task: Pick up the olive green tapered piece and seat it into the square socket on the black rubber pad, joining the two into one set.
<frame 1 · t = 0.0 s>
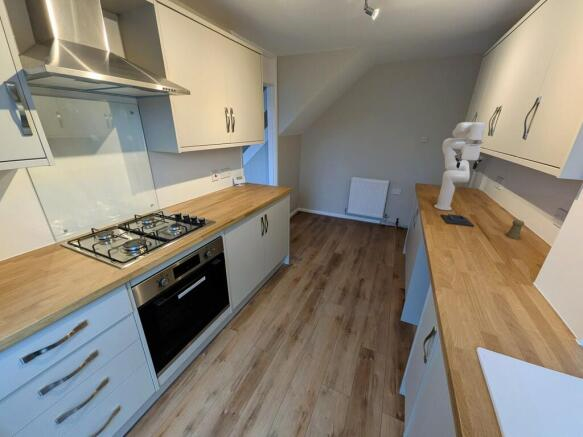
hand: (465, 168, 163), 37 cm above the counter, tool pointing down, fingers open, 9 cm apart
olive green tapered piece: (512, 237, 148), on the counter
pad: (456, 220, 171), on the counter
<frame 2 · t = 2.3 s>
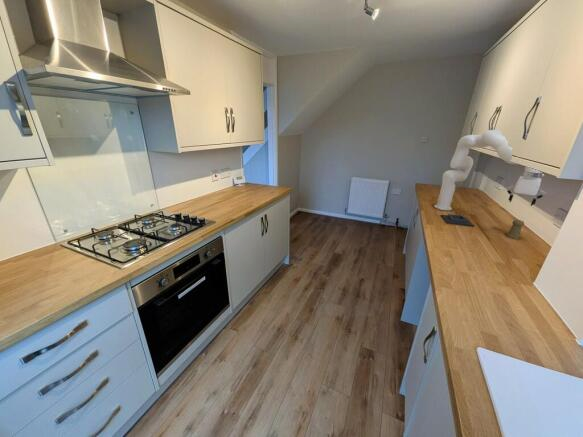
hand: (520, 203, 142), 21 cm above the counter, tool pointing down, fingers open, 9 cm apart
nothing on the counter moved.
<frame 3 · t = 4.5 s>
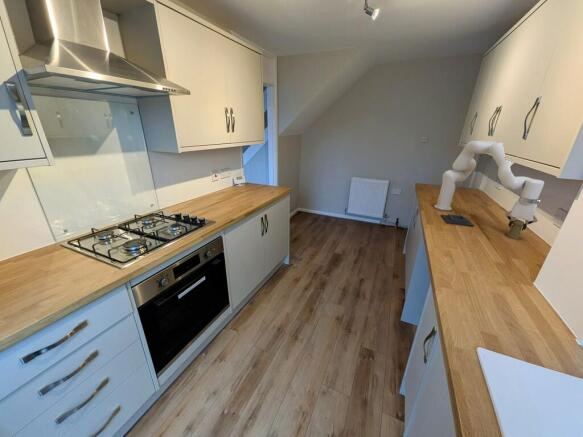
hand: (516, 228, 146), 6 cm above the counter, tool pointing down, fingers closed on olive green tapered piece, 5 cm apart
olive green tapered piece: (512, 237, 148), on the counter, touching gripper
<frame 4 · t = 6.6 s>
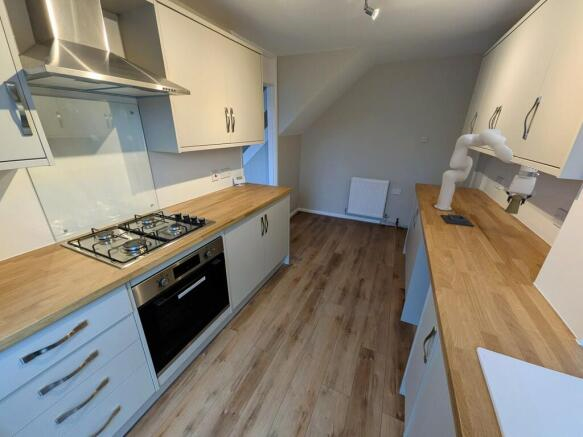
hand: (514, 203, 144), 21 cm above the counter, tool pointing down, fingers closed on olive green tapered piece, 5 cm apart
olive green tapered piece: (511, 212, 147), point 15 cm above the counter, touching gripper
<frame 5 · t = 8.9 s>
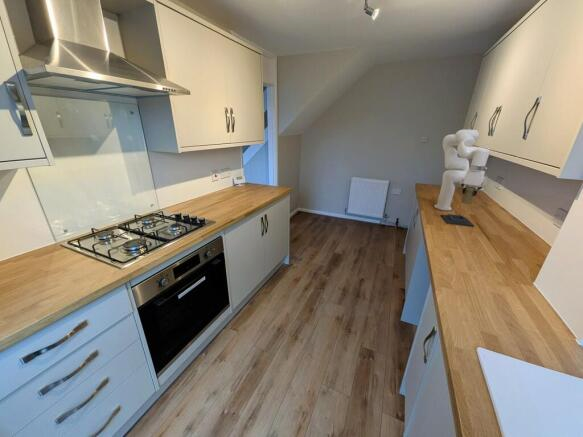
hand: (468, 194, 162), 20 cm above the counter, tool pointing down, fingers closed on olive green tapered piece, 5 cm apart
olive green tapered piece: (466, 202, 164), point 14 cm above the counter, touching gripper
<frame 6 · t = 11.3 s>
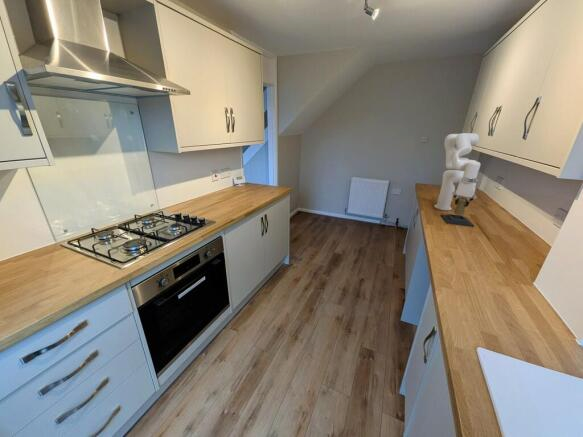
hand: (461, 205, 167), 12 cm above the counter, tool pointing down, fingers closed on olive green tapered piece, 5 cm apart
olive green tapered piece: (458, 213, 169), point 6 cm above the counter, touching gripper
when the fingers open (7 cm above the counter, at t = 13.2 s): olive green tapered piece stays where it is, resting on pad.
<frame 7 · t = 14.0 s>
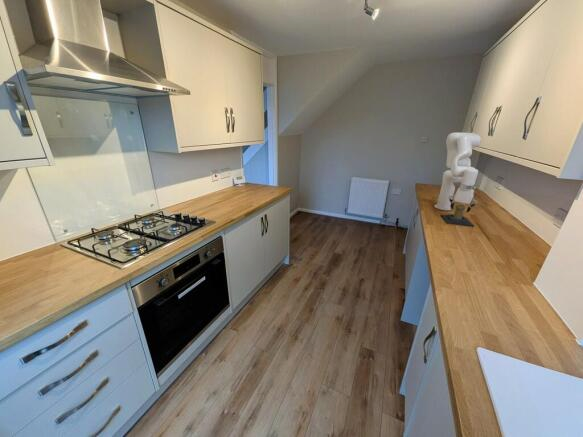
hand: (459, 210, 168), 8 cm above the counter, tool pointing down, fingers open, 9 cm apart
olive green tapered piece: (456, 219, 171), point 1 cm above the counter, touching pad
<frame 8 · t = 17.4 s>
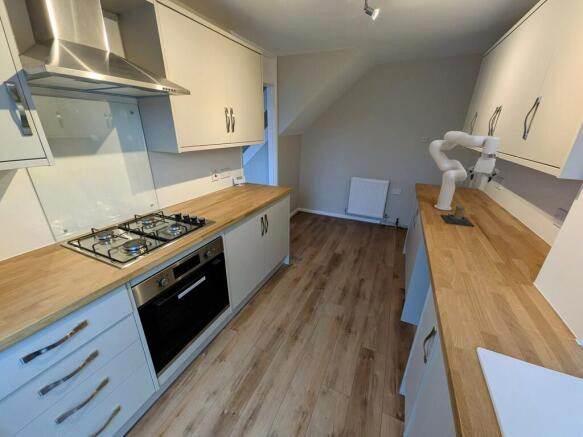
hand: (479, 181, 166), 28 cm above the counter, tool pointing down, fingers open, 9 cm apart
nothing on the counter moved.
at the end: olive green tapered piece 0.1 cm off-centre on the pad, point 0.8 cm above the pad's base; olive green tapered piece tilted 0°; the gripper is holding nothing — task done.
